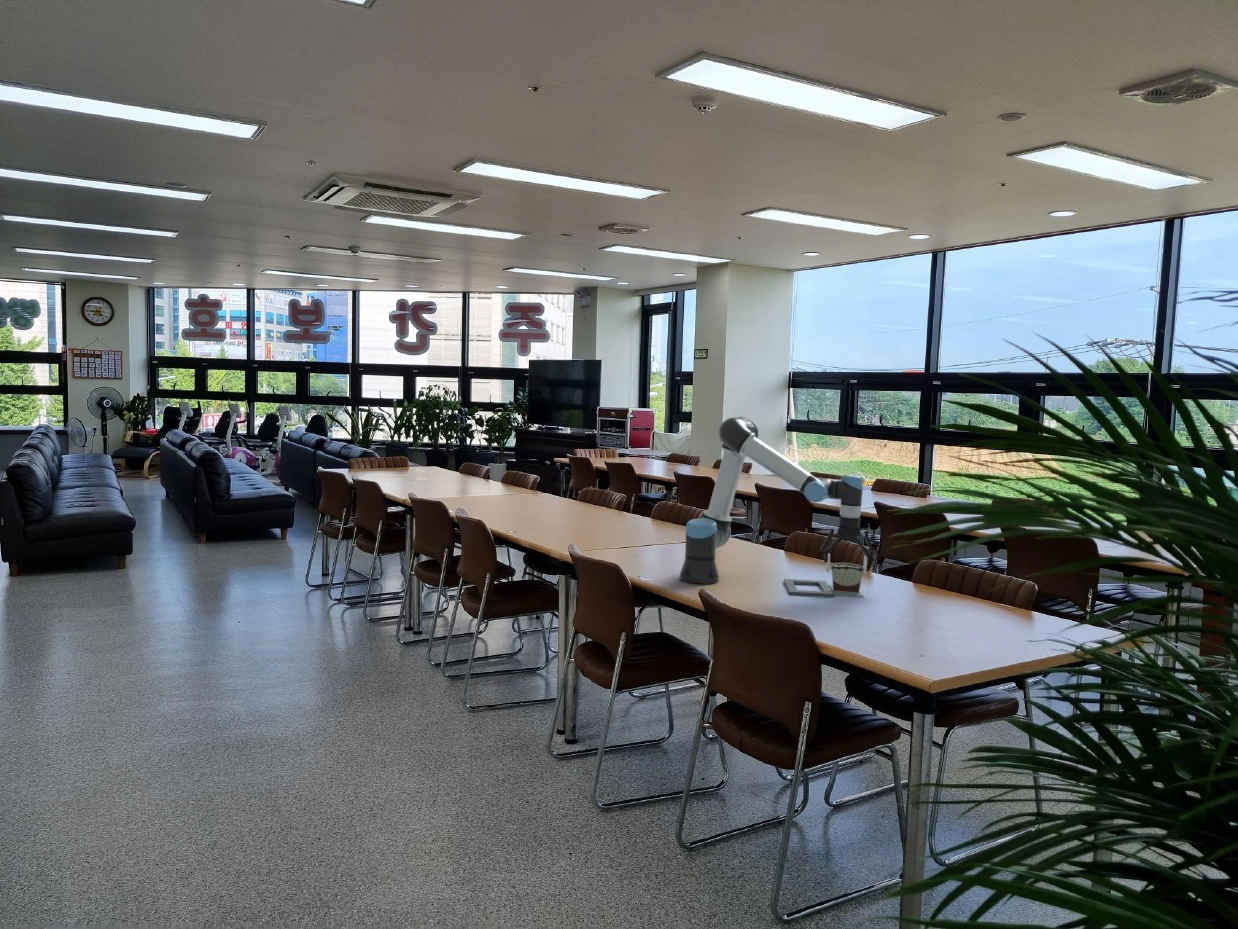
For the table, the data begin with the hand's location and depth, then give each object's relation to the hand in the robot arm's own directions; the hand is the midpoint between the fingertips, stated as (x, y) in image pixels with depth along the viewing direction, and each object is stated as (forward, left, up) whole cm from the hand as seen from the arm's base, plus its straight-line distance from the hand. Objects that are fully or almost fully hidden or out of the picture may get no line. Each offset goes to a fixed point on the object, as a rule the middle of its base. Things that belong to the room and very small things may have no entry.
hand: (845, 572), depth 318 cm
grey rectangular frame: (-14, 0, -7) cm, 15 cm away
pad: (0, 0, -7) cm, 7 cm away
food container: (0, 0, -7) cm, 7 cm away
